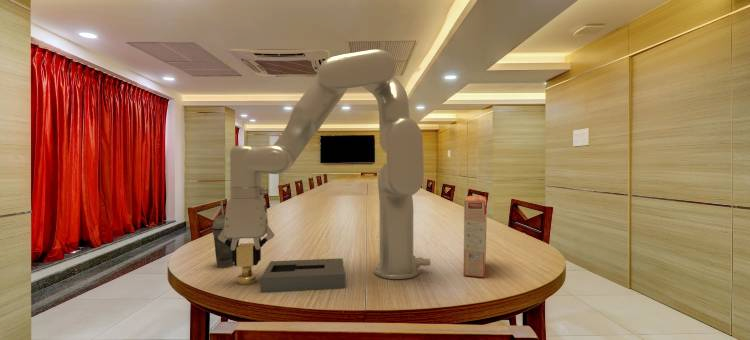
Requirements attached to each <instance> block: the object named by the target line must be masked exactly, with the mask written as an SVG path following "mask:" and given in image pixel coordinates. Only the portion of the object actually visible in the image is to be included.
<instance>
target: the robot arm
mask: <svg viewBox="0 0 750 340" xmlns="http://www.w3.org/2000/svg"><path fill="white" fill-rule="evenodd" d="M396 64H397V63H396V60H395V58H394V56H393V54H391V53H390V52H388V51H386V50H383V49H379V48H378V49H377V48H375V49H369V50H363V51H356V52H349V53H344V54H338V55H333V56H331V57H328V58H326V59H324V60H323V61H322V62H321V64H320V65H319V68H318V74H317V75H316V77H315V78H314V80H313V81H312V82H311V84H310V85H309V87H308V88H307V89H306V91H305V92H304V93H303V95H302V96H301V97H300V99H299V100H298V101H297V103H296V104H295V106H294V107H293V109H292V111H291V114H290V117H289V120H288V122H287V124H286V126H285V128H284V130H283V131H282V133H281V134H280V136H278V139H277V140H276V141H275V142H274V144H269V145H263V146H255V145H236V146H233V147H231V149H230V150H229V151H230V152H229V165H230V166H229V173H230V174H229V178H230V179H229V180H230V181H229V182H230V184H229V185H230V187H229V188H230V191H229V193H230V194H229V195H230V198H229V199H227V202H226V209H225V213H224V214H225V226H224V229H223V230H222V232H221V233H220V235H219V236H218V239H219V240H220V241H222V242H224V243H225V244H226V245H227V246H229V247H230V248H231V250H232V261H233V266H234V267H237V249H236V247H237V246H239V245H240V240H241V239H253V243H254V244H255V249H254V251H253V254H254V266H257V265H258V264H259V262H260V261H261V260H262V251H261V249H262V247H263V246H264V245H265V244H266V243H268V242H269V241H271V240H272V239H273V238H274V237H275V233H274V232H273V230H272V229H271V228H270V225H269V221H268V220H269V219H268V217H269V216H268V209H267V208H268V207H267V202H266V199H265V198H264V197H263V195H268V189H266V188H263V187H262V186H263V185H262V174H268V175H280V174H283V173H286V172H287V171H289V170H290V168H291V167H292V166H293V165H294V163H295V161H296V160H297V159H298V158H299V156H300V155H301V154H302V152H303V150H304V149H305V148H306V146H307V145H308V144H309V142H310V140H311V139H312V138H313V137H314V136H315V135H316V134H317V132H318V131H319V130H320V128H321V127H322V125H323V124H324V123H325V121H326V120H327V118H328V117H329V116H330V114H331V112H333V110H334V109H335V107H336V106H337V105H338V103H339V102H340V100H341V99H342V98H343V97H344V95H345V93H346V92H347V91H348V89H354V88H359V87H362V88H364V90H366V91H367V92H369V93H370V94H372V95H373V97H374V98H375V100H376V101H377V102H376V103H377V107H378V121H379V122H378V124H379V126H378V127H379V128H378V129H379V133H378V135H379V137H378V140H379V145H380V148H381V149H382V151H384V152H385V153H386V163H384V164H383V165H382V166H381V167H380V170H379V172H378V176H377V188H378V189H377V190H378V200H379V201H378V202H379V204H378V205H379V264H376V265H375V266H374V268H373V269H374V271H373V272H374V274H375V275H376V276H378V277H380V278H384V279H389V280H406V279H411V278H414V277H417V276H418V275H419V273H420V266H423V267H424V266H425V267H426V266H429V267H430V266H431V259H430V258H424V257H421V256H420V257H416V256H415V255H414V199H413V195H415V194H417V193H418V192H419V190H421V187H422V186H423V182H424V175H425V174H424V173H425V172H424V171H425V170H424V168H425V167H424V164H425V163H424V162H425V161H424V139H423V132H422V130H421V127H420V126H419V124H418V123H417V122H416V121H415V120H413V119H412V118H410V107H409V98H408V93H407V91H406V88H405V87H404V85H403V84H402V83H401V82H400V81H399V80H398V78H397V77H396V76H395V73H396V70H397V65H396ZM262 237H263V238H262ZM230 238H231V239H232V240H231V239H230Z"/></svg>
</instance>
